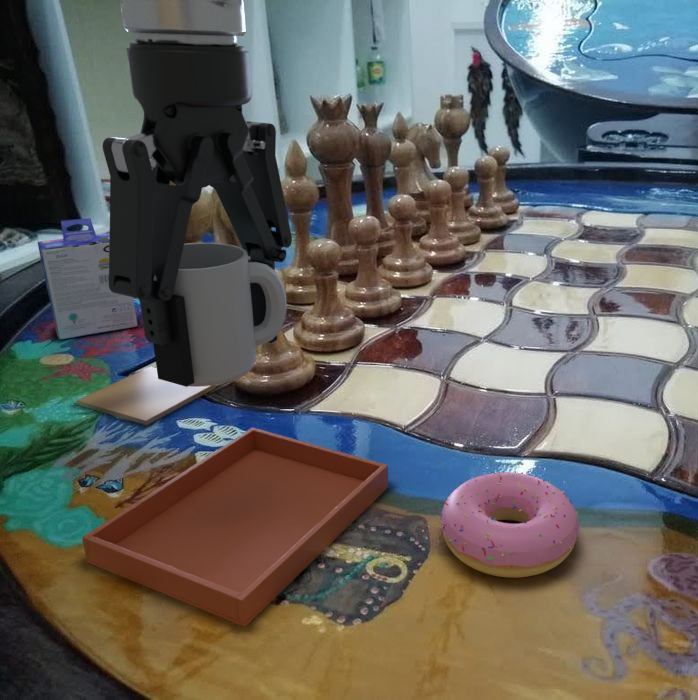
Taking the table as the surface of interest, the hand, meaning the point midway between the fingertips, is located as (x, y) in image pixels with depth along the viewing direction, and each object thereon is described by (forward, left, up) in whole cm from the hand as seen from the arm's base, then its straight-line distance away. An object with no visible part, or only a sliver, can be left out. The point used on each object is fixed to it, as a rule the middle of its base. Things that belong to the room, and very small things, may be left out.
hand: (221, 357), depth 56 cm
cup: (0, 0, -1) cm, 1 cm away
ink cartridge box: (-45, +24, -14) cm, 53 cm away
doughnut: (+22, +6, -14) cm, 27 cm away
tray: (+2, -1, -14) cm, 14 cm away
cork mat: (-23, +12, -14) cm, 29 cm away
